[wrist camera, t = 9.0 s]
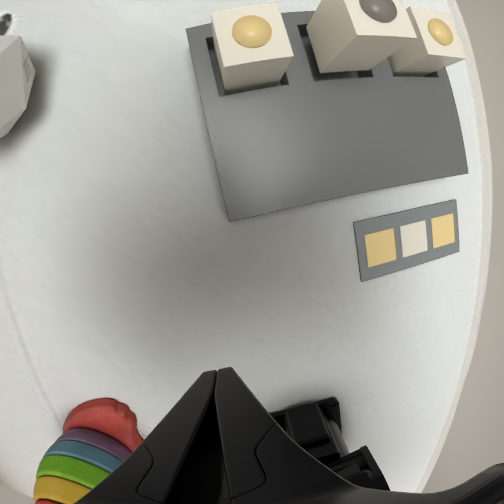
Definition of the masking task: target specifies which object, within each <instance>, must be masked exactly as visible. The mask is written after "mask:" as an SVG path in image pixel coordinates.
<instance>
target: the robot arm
mask: <svg viewBox="0 0 504 504" xmlns="http://www.w3.org/2000/svg"><path fill="white" fill-rule="evenodd" d="M332 403H334V404H332ZM73 504H504V463H500V464H496V465H493V466H491V467H489V468H487V469H485V470H484V471H482V472H481V473H479V474H477V475H476V476H474V477H472V478H471V479H469V480H468V481H466V482H464V483H462V484H460V485H458V486H456V487H454V488H451V489H448V490H445V491H442V492H436V493H407V492H395V491H390V489H389V486H388V484H387V482H386V480H385V478H384V476H383V474H382V472H381V470H380V468H379V467H378V465H377V463H376V461H375V460H374V458H373V456H372V454H371V453H370V451H369V449H368V447H367V446H366V445H365V446H363V447H361V448H360V449H359V450H357V451H354V452H352V453H349V451H348V449H347V446H346V444H345V442H344V439H343V437H342V434H341V420H340V408H339V402H338V400H337V399H336V398H331V399H327V400H324V401H320V402H317V403H313V404H310V405H306V406H302V407H298V408H294V409H290V410H286V411H282V412H278V413H273V414H269V413H268V411H267V410H266V409H265V408H264V407H263V405H262V404H261V403H260V402H259V401H258V399H257V398H256V397H255V396H254V394H253V393H252V392H251V391H250V389H249V388H248V387H247V386H246V384H245V383H244V382H243V381H242V379H241V378H240V377H239V376H238V374H237V373H236V372H235V371H234V369H233V368H232V367H228V368H223V369H219V370H218V371H217V370H212V371H207V372H203V373H202V374H201V375H200V377H199V378H198V379H197V380H196V381H195V382H194V384H193V385H192V386H191V387H190V388H189V389H188V391H187V392H186V393H185V394H184V395H183V396H182V398H181V399H180V400H179V401H178V402H177V403H176V405H175V406H174V407H173V408H172V409H171V410H170V411H169V413H168V414H167V415H166V416H165V417H164V418H163V419H162V420H161V422H160V423H159V424H158V425H157V426H156V427H155V428H154V429H153V431H152V432H151V433H150V434H149V435H148V436H147V437H146V438H145V439H144V441H143V443H141V444H140V445H139V446H138V447H137V448H136V449H135V450H134V451H133V452H132V453H131V455H130V456H129V457H128V458H127V459H126V460H125V461H124V462H123V463H122V464H121V465H119V466H118V467H117V468H116V469H115V470H114V471H113V472H112V473H111V474H109V475H108V476H107V477H106V478H105V479H104V480H102V481H101V482H100V483H99V484H98V485H96V486H95V487H94V488H93V489H92V490H90V491H89V492H88V493H87V494H86V495H84V496H83V497H82V498H81V499H79V500H78V501H76V502H75V503H73Z"/></svg>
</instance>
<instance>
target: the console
mask: <svg viewBox="0 0 504 504" xmlns="http://www.w3.org/2000/svg"><path fill="white" fill-rule="evenodd" d="M314 13H315V11H304V12H288V13H281V16H282V19H283V22H284V25H285V28H286V32H287V35H288V38H289V41H290V45H291V48H292V51H293V55H294V57H293V59H292V60H291V62H290V64H289V66H288V67H287V69H286V71H285V73H284V74H283V76H282V78H281V80H280V81H279V83H278V85H277V86H276V87H270V88H264V89H258V90H253V91H247V92H242V93H237V94H232V95H227V96H225V95H224V91H223V87H222V83H221V78H220V74H219V70H218V66H217V61H216V57H215V52H214V42H213V31H212V23H210V24H205V25H200V26H196V27H191V28H187V29H186V33H187V38H188V42H189V47H190V52H191V56H192V61H193V65H194V70H195V75H196V79H197V84H198V88H199V93H200V97H201V102H202V106H203V111H204V115H205V119H206V124H207V128H208V133H209V137H210V142H211V146H212V150H213V155H214V159H215V163H216V168H217V172H218V176H219V180H220V185H221V189H222V193H223V198H224V202H225V206H226V210H227V214H228V219H229V222H232V221H236V220H240V219H245V218H249V217H253V216H258V215H262V214H266V213H271V212H275V211H280V210H284V209H289V208H293V207H298V206H302V205H307V204H312V203H316V202H321V201H326V200H331V199H335V198H340V197H345V196H350V195H355V194H360V193H365V192H370V191H375V190H380V189H385V188H390V187H396V186H401V185H406V184H411V183H417V182H422V181H428V180H434V179H439V178H445V177H451V176H456V175H462V174H468V167H467V160H466V154H465V148H464V142H463V136H462V131H461V126H460V121H459V117H458V112H457V108H456V104H455V100H454V96H453V92H452V88H451V85H450V81H449V78H448V74H447V71H446V68H445V67H444V68H442V69H439V70H437V71H435V72H432V73H430V74H428V75H425V76H423V77H393V73H392V70H391V67H390V63H389V60H388V57H387V58H386V59H384V60H383V61H381V62H380V63H378V64H377V65H375V66H374V67H372V68H371V69H370V70H361V71H343V72H329V73H320V71H319V68H318V64H317V61H316V58H315V54H314V51H313V48H312V44H311V41H310V38H309V35H308V32H307V29H306V27H307V25H308V23H309V21H310V20H311V18H312V16H313V14H314Z"/></svg>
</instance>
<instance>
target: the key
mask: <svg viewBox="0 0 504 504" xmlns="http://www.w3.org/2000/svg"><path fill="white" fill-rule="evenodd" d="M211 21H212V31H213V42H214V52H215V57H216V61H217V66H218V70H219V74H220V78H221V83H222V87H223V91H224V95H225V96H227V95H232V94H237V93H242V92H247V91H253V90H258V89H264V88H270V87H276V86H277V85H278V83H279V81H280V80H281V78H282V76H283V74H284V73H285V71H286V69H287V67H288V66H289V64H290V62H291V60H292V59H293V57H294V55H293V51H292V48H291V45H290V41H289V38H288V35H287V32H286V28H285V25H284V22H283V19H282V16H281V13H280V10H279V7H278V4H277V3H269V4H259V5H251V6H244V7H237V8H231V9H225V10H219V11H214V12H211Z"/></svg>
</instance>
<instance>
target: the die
mask: <svg viewBox="0 0 504 504" xmlns="http://www.w3.org/2000/svg"><path fill="white" fill-rule="evenodd" d="M35 73H36V71H35V69H34V67H33V65H32V62H31V60H30V58H29V55H28V53H27V51H26V48H25V46H24V43H23V41H22V38H21V36H0V138H1V137H3V136H5V135H7V134H8V133H9V132H10V130H11V129H12V127H13V126H14V124H15V123H16V122H17V120H18V119H19V117H20V116H21V115H22V113H23V112H24V111H25V109H26V108H27V103H28V99H29V95H30V91H31V88H32V84H33V80H34V77H35Z"/></svg>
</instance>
